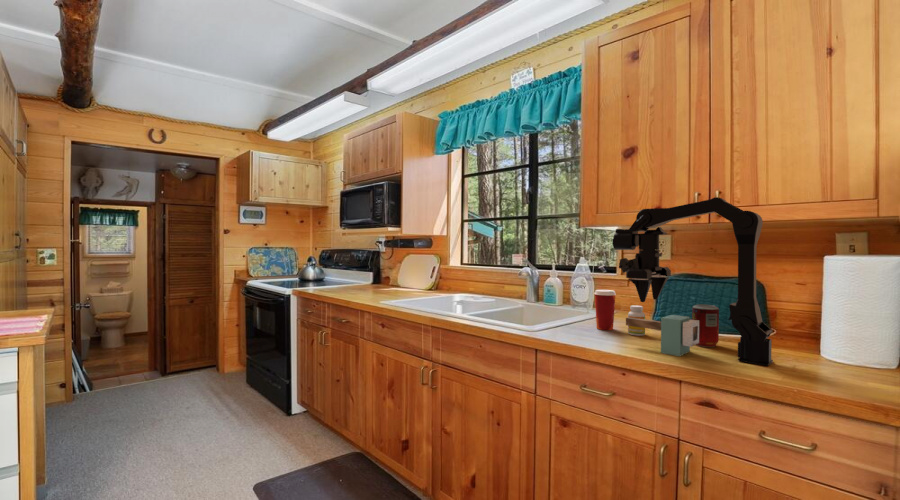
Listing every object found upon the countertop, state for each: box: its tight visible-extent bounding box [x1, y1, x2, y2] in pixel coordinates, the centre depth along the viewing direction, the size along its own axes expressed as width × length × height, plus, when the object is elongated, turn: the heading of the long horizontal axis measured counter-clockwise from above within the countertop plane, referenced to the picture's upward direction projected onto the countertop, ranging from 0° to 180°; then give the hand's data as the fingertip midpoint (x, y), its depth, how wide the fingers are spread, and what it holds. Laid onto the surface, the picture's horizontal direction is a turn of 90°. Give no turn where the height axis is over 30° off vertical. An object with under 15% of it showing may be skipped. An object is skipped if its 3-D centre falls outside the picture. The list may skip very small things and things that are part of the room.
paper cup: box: [593, 289, 617, 331], centre depth 155 cm, size 8×8×14 cm
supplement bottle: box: [627, 304, 646, 337], centre depth 145 cm, size 5×5×10 cm
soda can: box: [691, 303, 720, 348], centre depth 130 cm, size 7×7×12 cm
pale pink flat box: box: [683, 319, 699, 348], centre depth 118 cm, size 2×6×6 cm, turn 133°
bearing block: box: [660, 314, 691, 357], centre depth 121 cm, size 5×8×10 cm, turn 133°
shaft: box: [625, 316, 696, 335], centre depth 125 cm, size 19×2×2 cm, turn 43°
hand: (649, 300), depth 130 cm, fingers open, 9 cm apart
